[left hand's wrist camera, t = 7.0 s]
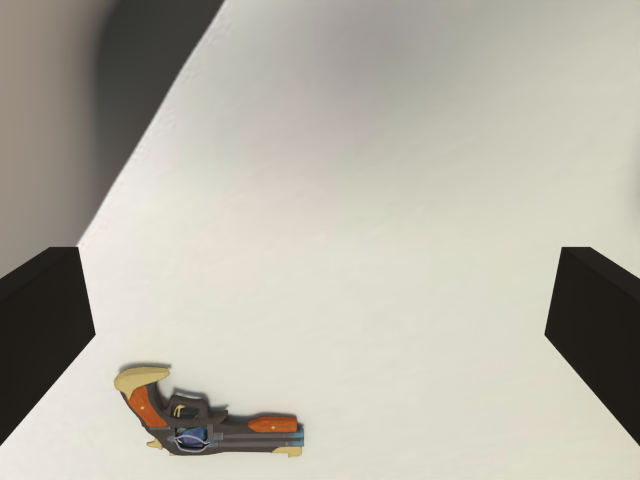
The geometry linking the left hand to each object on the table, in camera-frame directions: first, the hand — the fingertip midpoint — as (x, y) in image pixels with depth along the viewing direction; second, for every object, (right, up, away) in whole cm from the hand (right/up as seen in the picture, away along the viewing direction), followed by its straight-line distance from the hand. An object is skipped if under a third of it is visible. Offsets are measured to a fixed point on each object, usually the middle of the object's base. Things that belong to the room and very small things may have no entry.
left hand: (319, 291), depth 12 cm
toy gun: (-11, -16, +35) cm, 40 cm away
